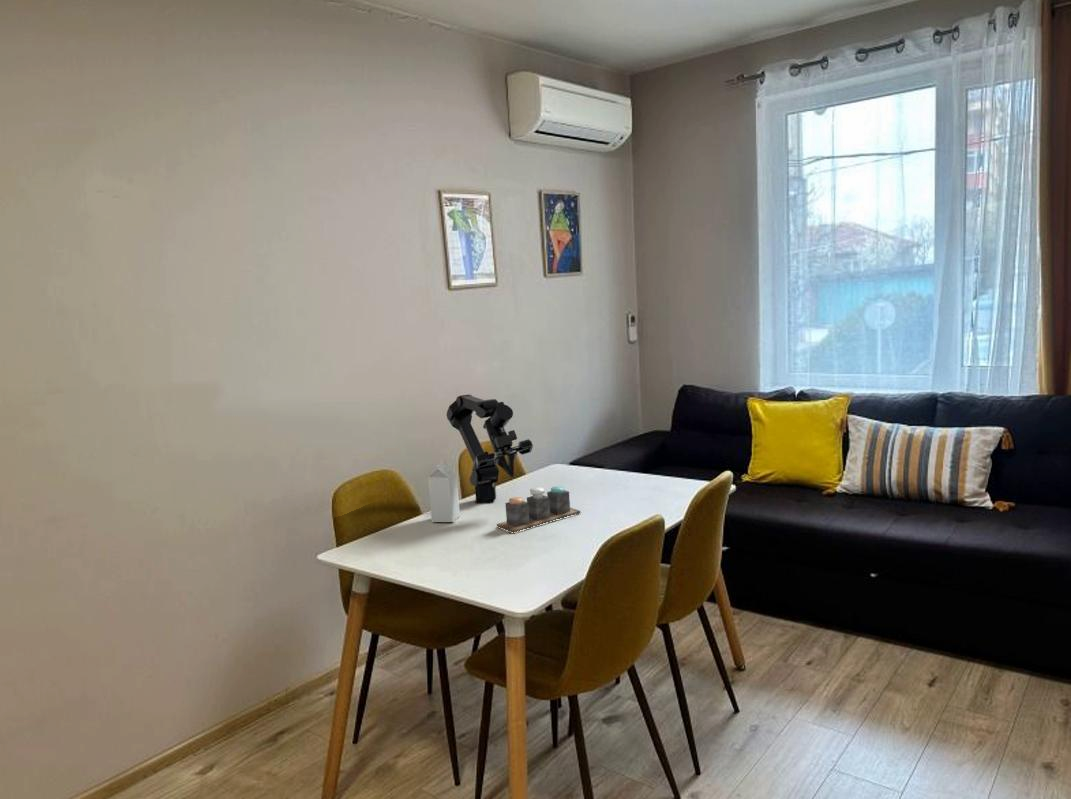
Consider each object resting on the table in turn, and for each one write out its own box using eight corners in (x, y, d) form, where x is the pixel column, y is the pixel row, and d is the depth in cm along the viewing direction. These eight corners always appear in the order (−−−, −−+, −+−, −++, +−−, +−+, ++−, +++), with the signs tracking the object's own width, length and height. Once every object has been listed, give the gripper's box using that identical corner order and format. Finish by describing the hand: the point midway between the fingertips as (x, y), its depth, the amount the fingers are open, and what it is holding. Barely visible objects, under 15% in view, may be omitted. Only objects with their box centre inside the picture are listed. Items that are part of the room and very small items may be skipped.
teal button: (557, 502, 227) (556, 490, 227) (548, 499, 231) (548, 488, 230) (568, 498, 230) (567, 488, 229) (559, 496, 233) (558, 485, 233)
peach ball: (515, 513, 218) (514, 502, 218) (507, 510, 222) (506, 499, 221) (526, 510, 221) (526, 498, 220) (518, 507, 224) (518, 496, 224)
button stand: (513, 533, 215) (511, 509, 214) (496, 527, 223) (495, 503, 222) (580, 513, 230) (579, 491, 229) (563, 508, 238) (561, 486, 236)
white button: (536, 503, 223) (535, 492, 222) (528, 500, 226) (527, 489, 226) (547, 500, 225) (547, 489, 224) (539, 497, 229) (538, 486, 228)
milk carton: (431, 523, 231) (426, 465, 228) (439, 516, 238) (434, 460, 235) (452, 523, 229) (447, 465, 226) (460, 516, 236) (455, 460, 233)
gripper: (471, 432, 228) (486, 476, 222) (526, 416, 232) (542, 459, 227) (469, 445, 238) (484, 488, 232) (522, 430, 242) (538, 472, 237)
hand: (512, 477), depth 231 cm, fingers closed
